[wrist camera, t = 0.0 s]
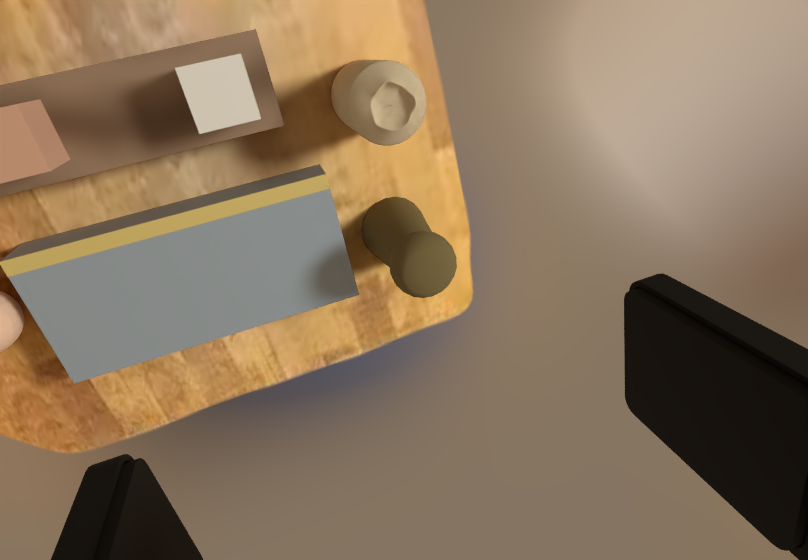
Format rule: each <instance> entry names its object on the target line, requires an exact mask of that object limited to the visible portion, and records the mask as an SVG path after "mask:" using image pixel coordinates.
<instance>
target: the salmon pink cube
mask: <svg viewBox="0 0 808 560" xmlns="http://www.w3.org/2000/svg"><path fill="white" fill-rule="evenodd" d="M69 160H70V158H69V156H68V154H67V152H66V150H65V148H64V146H63V144H62V142H61V140H60V138H59V136H58V134H57V132H56V130H55V128H54V126H53V124H52V122H51V120H50V118H49V116H48V114H47V112H46V110H45V108H44V106H43V104H42V102H41V100H40V99H39V100H34V101H29V102H24V103H19V104H15V105H10V106H6V107H1V108H0V184H1V183H5V182H9V181H13V180H17V179H21V178H25V177H29V176H33V175H37V174H41V173H45V172H49V171H52V170H54V169H55V168H57V167H59V166H60V165H62V164H64V163H65V162H67V161H69Z"/></svg>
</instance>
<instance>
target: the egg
mask: <svg viewBox="0 0 808 560" xmlns="http://www.w3.org/2000/svg"><path fill="white" fill-rule="evenodd" d="M23 327H24V314H23V310H22V308H21V306H20V305H19V303H18V302H17V301H16V300H15V299H14V298H13V297H11V296H9V295H8V294H6V293H4V292H1V291H0V352H1V351H3V350H5V349H6V348H8V347H9V346H10V345H11V344H13V343H14V342H15V341H16V339H17V338H18V337H19V336H20V334H21V332H22V329H23Z"/></svg>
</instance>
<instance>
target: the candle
mask: <svg viewBox="0 0 808 560" xmlns="http://www.w3.org/2000/svg"><path fill="white" fill-rule="evenodd" d="M331 101H332V105H333V108H334V111H335V113H336V114H337V116H338V117H339V119H340V120H341V121H342V122H343V123H345V124H346V125H347V126H348V127H350V128H351V129H352V130H354V131H355V132H357V133H358V134H359V135H361V136H362V137H364V138H365V139H367V140H368V141H370V142H372V143H375V144H378V145H388V146H389V145H395V144H399V143H401V142H403V141H405V140H407V139H408V138H410V137H411V136H412V135H413V134H414V133H415V132H416V131H417V129H418V128H419V126H420V125H421V123H422V121H423V118H424V115H425V110H426V95H425V91H424V87H423V85H422V83H421V81H420V79H419V77H418V76H417V75H416V74H415V73H414V72H413V71H412V70H411V69H410V68H409V67H407V66H406V65H404V64H402V63H399V62H396V61H388V60H357V61H353V62H351V63H349V64H347V65H346V66H344V67H343V68H342V69H341V70H340V71H339V72H338V74H337V75H336V77H335V79H334V81H333V84H332V88H331Z"/></svg>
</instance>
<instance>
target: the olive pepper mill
mask: <svg viewBox="0 0 808 560" xmlns="http://www.w3.org/2000/svg"><path fill="white" fill-rule="evenodd" d="M362 238H363V240H364V243H365V245H366V247H367V248H368V249H369V250H370V251H371V252H372V253H373V254H374V255H376V256H377V257H378V258H379V259H380V260H382V261H383V262H384V263H385V264H386V265H388V266H389V267H390V273H391V276H392V278H393V280H394V282H395V284H396V285H397V286H398V287H399V288H400V289H401V290H402V291H403V292H405V293H407V294H409V295H411V296H413V297H420V298H425V297H430V296H434V295H436V294H438V293H440V292H442V291H443V290H444V289H445V288H446V287H447V286H448V285H449V284H450V282H451V281H452V279H453V277H454V275H455V271H456V268H457V265H456V256H455V253H454V251H453V248H452V246H451V245H450V244H449V243H448V241H447V240H446V239H445V238H443V237H442V236H440V235H438V234H436V233H434V232H432V231H431V229H430V228H429V226H428V224H427V222H426V220H425V218H424V217H423V215H422V213H421V211H420V210H419V209H418V207H417V206H416V205H415V204H414V203H413V202H411V201H409V200H407V199H405V198H399V197H391V198H385V199H383V200H381V201H379V202H377V203H376V204H375V205H373V206H372V207H371V208H370V209H369V210H368V212H367V214H366V216H365V217H364V219H363V224H362Z"/></svg>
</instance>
